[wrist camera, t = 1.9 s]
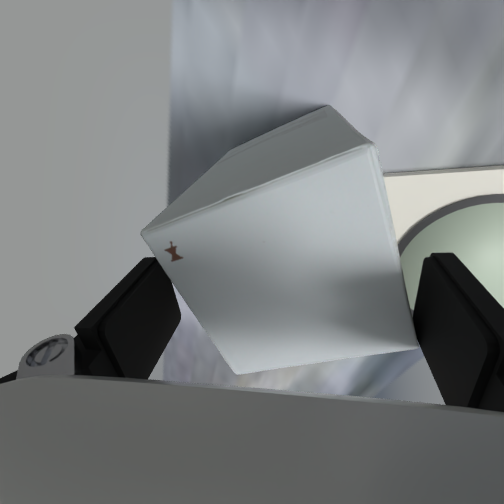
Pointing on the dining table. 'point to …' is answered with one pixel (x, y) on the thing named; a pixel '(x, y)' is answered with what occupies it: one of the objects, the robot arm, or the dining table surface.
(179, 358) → the dining table surface
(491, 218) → the picture board
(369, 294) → the supplement box
